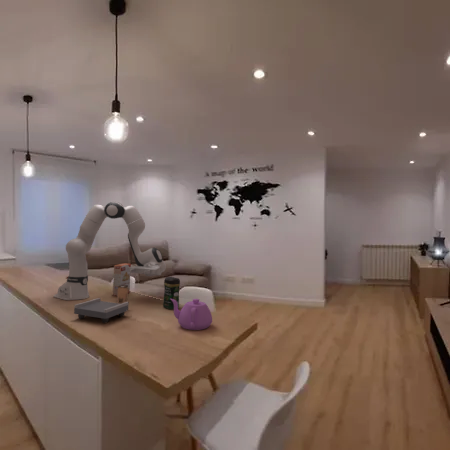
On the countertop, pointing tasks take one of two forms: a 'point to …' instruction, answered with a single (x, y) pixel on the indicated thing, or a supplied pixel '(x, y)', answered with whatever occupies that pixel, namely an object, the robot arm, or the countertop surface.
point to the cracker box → (121, 277)
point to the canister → (122, 294)
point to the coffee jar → (171, 292)
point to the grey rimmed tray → (100, 309)
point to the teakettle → (193, 315)
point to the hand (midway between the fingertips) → (137, 271)
